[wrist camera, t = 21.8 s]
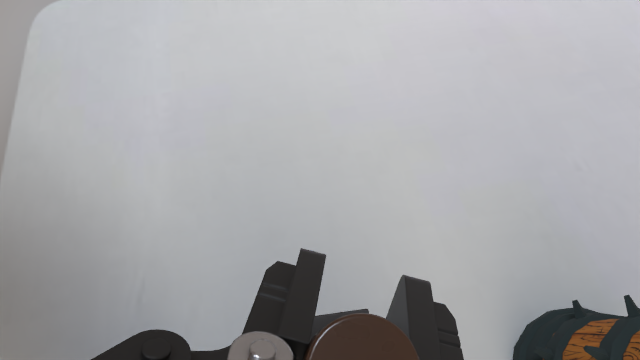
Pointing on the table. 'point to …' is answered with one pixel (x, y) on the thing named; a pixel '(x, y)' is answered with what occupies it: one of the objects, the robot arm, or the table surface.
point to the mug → (581, 335)
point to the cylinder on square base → (358, 338)
